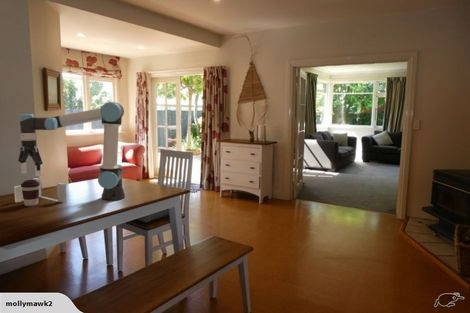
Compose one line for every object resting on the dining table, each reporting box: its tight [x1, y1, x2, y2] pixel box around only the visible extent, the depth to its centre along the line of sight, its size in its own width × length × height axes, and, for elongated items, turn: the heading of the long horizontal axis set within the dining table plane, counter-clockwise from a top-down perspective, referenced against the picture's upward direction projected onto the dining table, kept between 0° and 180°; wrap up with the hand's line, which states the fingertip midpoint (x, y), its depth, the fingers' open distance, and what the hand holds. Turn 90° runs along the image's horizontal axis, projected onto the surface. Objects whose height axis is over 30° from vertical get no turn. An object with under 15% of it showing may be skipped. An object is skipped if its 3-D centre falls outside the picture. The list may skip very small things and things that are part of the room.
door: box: [13, 180, 43, 203], centre depth 211 cm, size 17×3×10 cm, turn 155°
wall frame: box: [32, 177, 67, 204], centre depth 214 cm, size 2×30×12 cm, turn 64°
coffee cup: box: [20, 179, 40, 207], centre depth 200 cm, size 10×10×15 cm
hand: (31, 174), depth 199 cm, fingers open, 13 cm apart
